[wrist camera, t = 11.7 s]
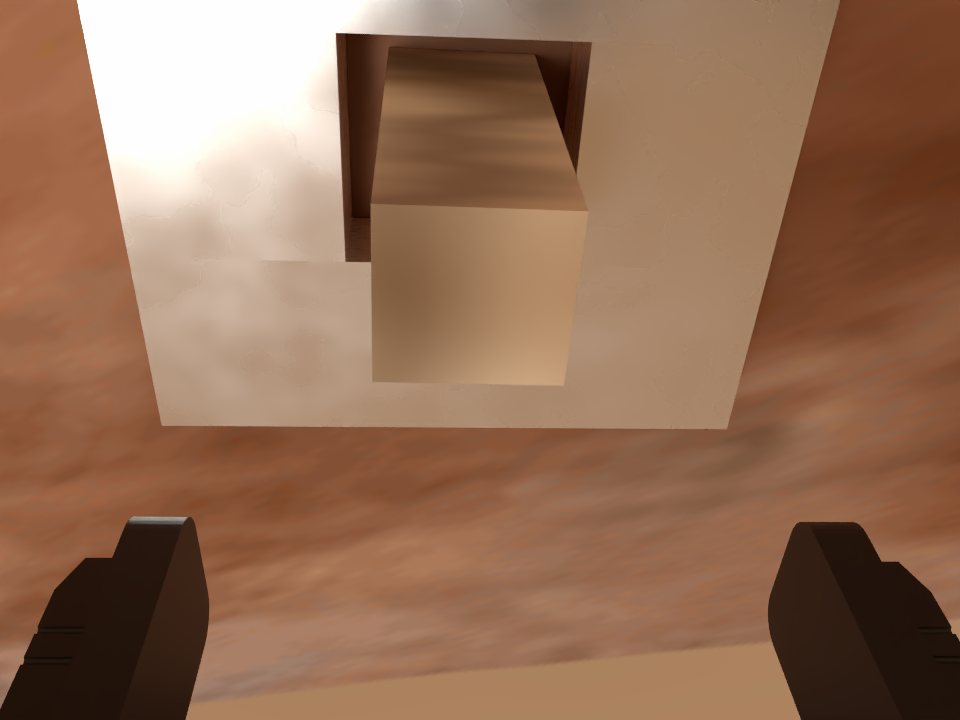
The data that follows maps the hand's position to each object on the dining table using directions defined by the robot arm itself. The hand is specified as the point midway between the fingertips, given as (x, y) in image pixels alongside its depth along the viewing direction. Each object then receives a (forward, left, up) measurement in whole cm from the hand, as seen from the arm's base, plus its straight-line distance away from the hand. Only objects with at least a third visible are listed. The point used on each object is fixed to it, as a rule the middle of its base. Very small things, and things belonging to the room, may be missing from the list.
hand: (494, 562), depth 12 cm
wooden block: (0, 0, -17) cm, 17 cm away
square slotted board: (0, 0, -17) cm, 17 cm away
